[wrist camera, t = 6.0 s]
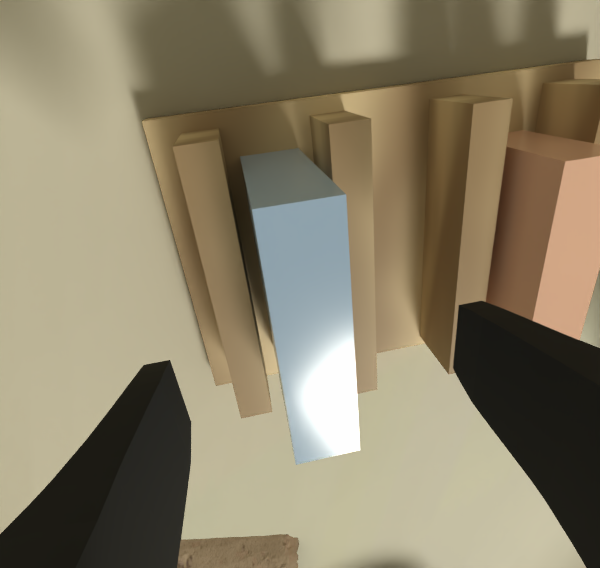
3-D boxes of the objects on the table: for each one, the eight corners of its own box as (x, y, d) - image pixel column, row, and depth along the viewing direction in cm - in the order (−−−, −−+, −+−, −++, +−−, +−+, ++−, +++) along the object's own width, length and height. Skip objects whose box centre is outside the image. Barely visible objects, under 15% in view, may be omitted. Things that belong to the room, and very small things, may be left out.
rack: (587, 59, 15) (683, 56, 12) (535, 310, 20) (592, 352, 17) (146, 118, 13) (123, 132, 10) (216, 373, 18) (215, 433, 15)
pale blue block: (298, 147, 14) (346, 194, 8) (318, 337, 17) (360, 449, 12) (240, 156, 13) (251, 209, 8) (273, 346, 17) (296, 464, 12)
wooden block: (523, 130, 15) (632, 150, 11) (498, 293, 18) (575, 354, 14) (472, 137, 15) (565, 161, 11) (456, 301, 18) (523, 365, 14)
